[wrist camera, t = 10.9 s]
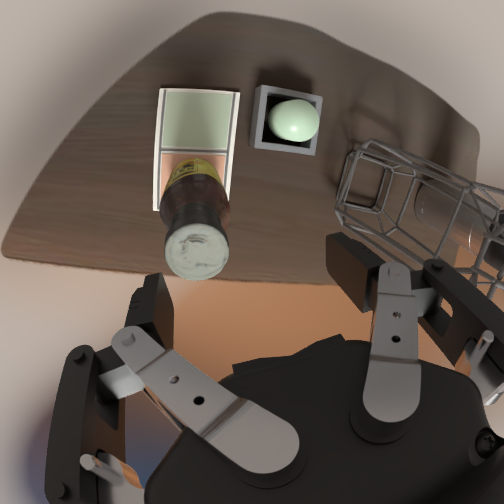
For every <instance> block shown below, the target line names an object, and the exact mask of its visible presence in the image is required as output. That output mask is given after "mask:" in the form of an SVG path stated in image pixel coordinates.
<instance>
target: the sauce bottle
mask: <svg viewBox="0 0 504 504" xmlns="http://www.w3.org/2000/svg"><path fill="white" fill-rule="evenodd" d="M159 212H160V216H161V219H162V221H163V223H164V224H165V226H166V228H167V230H168V233H167V235H166V238H165V247H164V254H165V260H166V262H167V264H168V265H169V267H170V268H171V270H172V271H173V272H174V273H175V274H177V275H178V276H180V277H182V278H184V279H188V280H196V281H199V280H206V279H208V278H211V277H213V276H215V275H216V274H218V273H219V272H220V271H221V270H222V269H223V267H224V266H225V264H226V262H227V260H228V257H229V243H228V239H227V235H226V232H225V231H226V229H227V226H228V222H229V218H230V205H229V201H228V197H227V193H226V191H225V189H224V186H223V184H222V182H221V179H220V177H219V175H218V172H217V171H216V169H215V168H214V166H213V165H212V164H210V163H209V162H208V161H207V160H204V159H202V158H188V159H186V160H183V161H182V162H180V163H179V164H178V165H176V166H175V168H174V169H173V170H172V172H171V174H170V177H169V179H168V182H167V184H166V186H165V189H164V192H163V195H162V197H161V201H160V206H159Z"/></svg>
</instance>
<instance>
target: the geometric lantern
mask: <svg viewBox="0 0 504 504" xmlns="http://www.w3.org/2000/svg"><path fill="white" fill-rule="evenodd" d="M371 142H373V143H375V144H377V145H378V146H380V147H382V148H384V149H386V150H388V151H389V152H391V153H393V154H395V155H396V156H398V157H400V158H401V159H403V160H405V161H406V162H404V161H401V160H398V159H395V158H392V157H389V156H386V155H383V154H380V153H377V152H374V151H370V150H367V149H366V148H367V147H368V145H369V144H370V143H371ZM394 150H395V151H394ZM396 151H397V152H396ZM360 152H361V153H360ZM398 152H400V153H402V154H404V155H407V156H409V157H411V158H414V159H416V160H418V161H420V162H422V163H425V164H427V165H429V166H431V167H433V168H435V169H437V170H439V171H441V172H443V173H445V174H447V175H449V176H451V177H453V178H455V179H457V180H459V181H461V182H462V183H464V184H466V185H468V186H467V187H465V186H463V185H460V184H458V183H456V182H454V181H452V180H449V179H448V178H446V177H444V176H442V175H440V174H438V173H436V172H434V171H432V170H429V169H427V168H425V167H423V166H421V165H419V164H417V163H415V162H413V161H411V160H409V159H408V158H406V157H405V156H403V155H401V154H400V153H398ZM359 153H360V154H359ZM363 153H367V154H370V155H373V156H376V157H379V158H382V159H385V160H388V161H391V162H393V163H396V164H398V165H395V166H391V165H388V164H385V163H384V162H381V161H379V160H376V159H373V158H371V157H368V156H365V155H363ZM352 154H353V155H354V158H350V156H351V155H352ZM359 158H363V159H366V160H369V161H372V162H375V163H378V164H381V165H383V166H384V168H385V171H384V175H383V179H382V183H381V186H380V190H379V193H378V197H377V200H376V204H375V205H374V206H373V207H372V208H367V207H363V206H358V205H354V204H349V203H345V201H346V197H347V194H348V191H349V187H350V184H351V181H352V177H353V174H354V170H355V166H356V163H357V160H358V159H359ZM348 159H349V160H352V164H351V166H350V169H349V172H348V174H347V177H346V180H345V182H344V185H343V188H342V190H341V186H342V183H343V179H344V175H345V171H346V167H347V163H348ZM400 166H404V167H407V168H409V169H412V170H413V174H409V173H403V172H398V171H394V170H393V168H396V167H400ZM387 167H389V168H391V170H392V171H391V170H389V169H387ZM387 171H389V172H391V177H390V181H389V184H388V188H387V191H386V195H385V198H384V202H383V205H382V207H380V206H378V205H377V204H378V201H379V197H380V194H381V190H382V187H383V183H384V180H385V176H386V172H387ZM416 171H417V172H420V173H422V174H425V175H427V176H429V177H432V178H434V179H436V180H439V181H441V182H443V183H445V184H448V185H450V186H452V187H454V188H456V189H458V190H460V191H461V194H460V196H459V198H458V197H456V196H454V195H452V194H450V193H449V192H447V191H445V190H443V189H441V188H439V187H437V186H435V185H434V184H432V183H430V182H428V181H426V180H424V179H421V178H419V177H417V175H416ZM394 173H396V174H402V175H407V176H413V180H412V183H411V186H410V189H409V191H408V194H407V197H406V199H405V202H404V204H403V207H402V209H401V212H400V214H399V217H398V219H397V222H396V224H395V223H394V222H393V221H392V219H391V218H390V217H389V216H388V215H387V214H386V213H385V212H384V211H383V209H384V206H385V203H386V199H387V196H388V192H389V189H390V185H391V182H392V178H393V174H394ZM416 180H418V181H420V182H422V183H424V184H426V185H428V186H430V187H432V188H434V189H436V190H438V191H439V192H441V193H443V194H445V195H447V196H448V197H450V198H452V199H454V200H455V201H457V204H456V207H455V210H454V212H453V215H452V217H451V219H450V222H449V224H448V227H447V229H446V231H445V233H444V236H443V238H442V240H441V242H440V244H439V246H438V249H437V251H436V253H434V252H432V251H431V250H430V249H428V248H427V247H426V246H424V245H423V244H422V243H420V242H419V241H418V240H416V239H415V238H413V237H412V236H411V235H409V234H408V233H407V232H405V231H404V230H402V229H401V228H400V227H398V225H399V223H400V220H401V218H402V215H403V213H404V211H405V208H406V205H407V203H408V200H409V198H410V195H411V192H412V190H413V187H414V184H415V181H416ZM346 188H347V189H346ZM476 188H478V189H479V190H480V191H481V192H482V193H483V194H484V195H485V196H486V197H487V198H488V199H489V200H491V202H492V203H493V204H494V205H493V204H491V203H490V202H488V201H487V200H485V199H483V198H481V197H480V196H478V195H476V194H475V193H473V192H472V191H473V190H475V189H476ZM340 190H341V193H340ZM484 190H488V191H491V192H495V193H498V194H501V195H504V190H502V189H499V188H495V187H492V186H488V185H485V184H481V183H477V182H471V181H469V180H468V179H466V178H464V177H462V176H460V175H458V174H456V173H454V172H452V171H450V170H448V169H446V168H444V167H442V166H440V165H438V164H436V163H433V162H431V161H429V160H427V159H424V158H422V157H420V156H418V155H415V154H413V153H410V152H408V151H406V150H403V149H401V148H398V147H395V146H393V145H390V144H388V143H385V142H382V141H379V140H376V139H373V138H370V139H368V140H367V141H366V142H364V143H363V144H361V145H360V146H359V147H358V148H357V149H356V152H353V151H352V152H351V153H350V154H349V155H348V156H347V157H346V161H345V165H344V169H343V173H342V177H341V181H340V184H339V188H338V192H337V196H336V199H337V203H336V205H335V208H334V211H335V214H336V216H337V218H338V220H339V222H340V223H341V225H342V226H343V227H345V228H347V229H348V230H350V231H351V232H353V233H354V234H356V235H357V236H359V237H360V238H362V239H363V240H365V241H366V242H368V243H369V244H370V245H372V246H373V247H375V248H376V249H378V250H379V251H380V252H382V253H383V254H385V255H386V256H387V257H389V258H390V259H392V260H393V261H394V262H397V263H401V264H403V265H405V266H406V267H407V268H408V269H409V271H415V270H414V269H412V268H411V267H410V266H408V265H407V264H406V263H404V262H403V261H401V260H400V259H398V258H397V257H396V256H394V255H393V254H391V253H390V252H388V251H387V250H386V249H384V248H383V247H381V246H380V245H378V244H377V243H375V242H374V241H372V240H371V239H369V238H368V237H366V236H365V235H363V234H362V233H360V232H359V231H363V232H367V233H370V234H374V235H376V236H377V237H379V238H380V239H382V240H384V241H385V242H387V243H388V244H390V245H391V246H393V247H394V248H396V249H397V250H399V251H400V252H402V253H403V254H405V255H406V256H408V257H409V258H411V259H412V260H414V261H415V262H417V263H418V264H419V265H421V266H422V267H423V264H424V262H425V260H423V259H422V258H420V257H419V256H417V255H416V254H414V253H413V252H411V251H410V250H408V249H407V248H405V247H404V246H402V245H400V244H399V243H397V242H396V241H394V240H393V239H391V238H390V237H388V236H387V235H389V234H390V233H392V232H393V231H395V230H396V229H397V230H398V231H400V232H401V233H402V234H404V235H405V236H406V237H408V238H409V239H410V240H412V241H413V242H414V243H416V244H417V245H418V246H420V247H421V248H422V249H424V250H425V251H426V252H428V253H429V254H430V255H431V256H433V259H439V260H442V261H444V260H443V259H441V258H440V257H439V256H438V255H439V253H440V251H441V249H442V247H443V245H444V243H445V240H446V238H447V236H448V234H449V231H450V229H451V227H452V224H453V222H454V220H455V217H456V215H457V212H458V210H459V207H460V205H461V204H462V205H464V206H465V207H467V208H469V209H470V210H472V211H474V212H475V213H477V214H478V215H480V216H481V218H482V221H483V223H484V226H485V228H486V231H487V233H486V232H484V234H483V236H484V238H483V242H482V244H481V247H480V250H479V253H478V256H477V259H476V261H475V264H474V266H471V268H453V267H452V268H453V269H455V270H456V271H457V272H458V273H460V274H472V276H471V278H470V280H469V282H470V283H472V284H473V285H474V286H475V287H477V284H478V285H479V284H491V286H490V289H489V291H488V293H487V296H486V297H488V298H489V299H490V300H491V299H492V297H493V295H494V292H495V290H496V288H497V287H498V288H500V289H503V290H504V282H502V281H500V280H501V279H502V278H503V276H504V264H503V266H502V268H501V269H500V271H499V272H498V274H497V279H495V278H494V277H493V276H491V275H489V274H488V273H486V272H484V271H482V270H481V269H479V267H480V264H481V262H482V259H483V257H484V255H485V253H486V251H487V248H488V246H489V244H490V241H491V240H493V241H495V242H498V243H500V244H502V245H504V240H503V239H501V238H499V237H497V236H499V235H500V234H502V236H503V238H504V224H502V225H501V226H500V224H499V222H498V220H499V214H504V211H500V210H499V209H500V206H499V205H498V204H497V203H496V202H495V201H494V199H493V198H492V197H491V196H490V195H489V194H488V193H487V192H486V191H484ZM345 191H346V192H345ZM344 193H345V196H344ZM465 193H467V194H469V195H471V196H472V198H473V200H474V202H475V204H476V207H477V209H476V208H475V207H473V206H471V205H470V204H468V203H466V202H465V201H463V200H462V199H463V197H464V194H465ZM339 194H340V195H339ZM343 196H344V199H342V198H343ZM476 199H477V200H479V201H480V202H482V203H484V204H485V205H487V206H488V207H490V208H492V209H493V210H495V211H496V215H495V220H493V219H492V218H490V217H489V216H487V215H486V214H484V213H483V212H482V211H481V208H480V206H479V204H478V202H477V200H476ZM341 205H343V206H344V207H345V209H344V211H342V210H341V209H339V207H340V206H341ZM347 205H348V206H347ZM351 206H352V207H351ZM375 207H378V208H379V209H381V210H379V211H378V212H377V211H376V210H374V208H375ZM347 208H349V209H354V210H360V211H365V212H370V213H375V214H377V217H378V220H379V223H380V227H381V231H382V233H380V232H378V231H376V230H375V229H373V228H371V227H370V226H368V225H366V224H365V223H363V222H361V221H360V220H358V219H356V218H355V217H353V216H351V215H349V214H348V213H346V212H347ZM380 212H382V213H383V214H384V215H385V216H386V217H387V218H388V219H389V220H390V222H391V223H392V224H393V225H394V227H393V228H392V229H390V230H389V231H388V232H386V233H384V230H383V226H382V223H381V219H380V216H379V213H380ZM340 214H341V215H343V219H342V217H341V215H340ZM345 218H348V219H350V220H351V221H353V222H355V223H356V224H358V225H360V226H361V227H359V226H355V225H351V224H348V223H345ZM485 219H486V220H488V221H489V222H491V223H492V224H494V227H493V229H492V232H490V230H489V227H488V225H487V222H486V220H485ZM496 226H497V227H498V228H497V229H496ZM362 227H363V228H362ZM355 229H356V230H355ZM495 229H496V230H495ZM357 230H359V231H357ZM444 262H445V261H444ZM447 264H448V263H447ZM448 265H449V264H448ZM478 274H480V275H481V276H483V277H485V278H486V279H488V280H490V281H491V282H477V277H478ZM463 277H464V276H463ZM464 278H465V277H464Z"/></svg>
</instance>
